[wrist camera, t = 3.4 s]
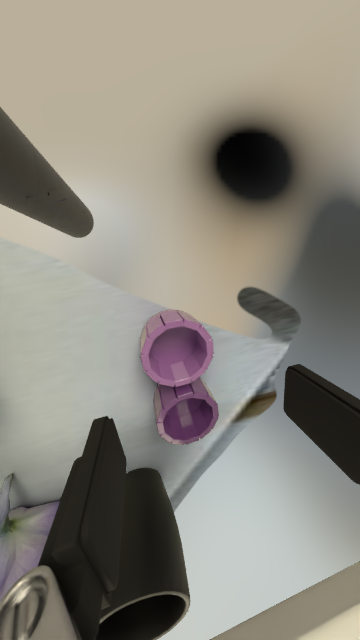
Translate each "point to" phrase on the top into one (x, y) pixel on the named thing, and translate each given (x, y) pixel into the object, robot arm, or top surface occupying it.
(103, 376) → the top surface
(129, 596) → the mug
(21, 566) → the flower
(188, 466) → the top surface
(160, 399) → the purple ribbed cup
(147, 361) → the purple ribbed pot
